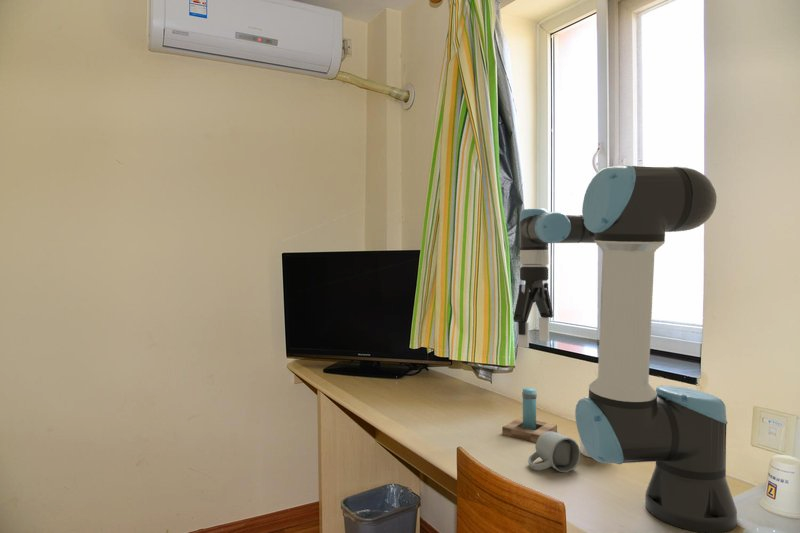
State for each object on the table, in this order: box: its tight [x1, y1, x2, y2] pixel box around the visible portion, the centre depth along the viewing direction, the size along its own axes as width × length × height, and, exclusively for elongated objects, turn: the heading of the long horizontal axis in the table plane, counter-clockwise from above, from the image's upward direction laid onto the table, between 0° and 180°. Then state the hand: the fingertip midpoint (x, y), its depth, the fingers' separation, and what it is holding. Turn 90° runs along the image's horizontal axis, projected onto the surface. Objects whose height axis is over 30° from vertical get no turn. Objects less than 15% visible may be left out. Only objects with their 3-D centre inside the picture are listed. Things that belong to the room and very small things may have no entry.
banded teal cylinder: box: [521, 387, 538, 431], centre depth 144 cm, size 4×4×12 cm
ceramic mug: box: [527, 431, 581, 473], centre depth 121 cm, size 11×8×8 cm
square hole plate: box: [501, 416, 558, 443], centre depth 144 cm, size 11×11×2 cm
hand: (534, 343), depth 143 cm, fingers open, 13 cm apart
